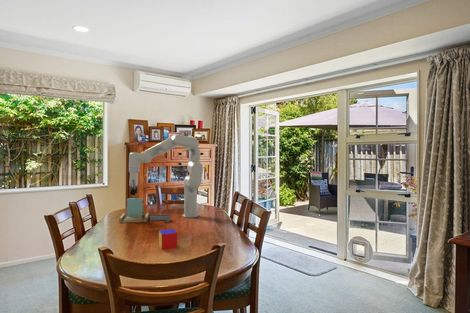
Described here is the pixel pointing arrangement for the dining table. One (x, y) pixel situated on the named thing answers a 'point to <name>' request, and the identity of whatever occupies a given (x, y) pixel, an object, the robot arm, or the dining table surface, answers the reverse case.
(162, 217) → the stand
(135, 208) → the teal rectangular slab
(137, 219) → the beige rectangular block
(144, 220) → the rack
